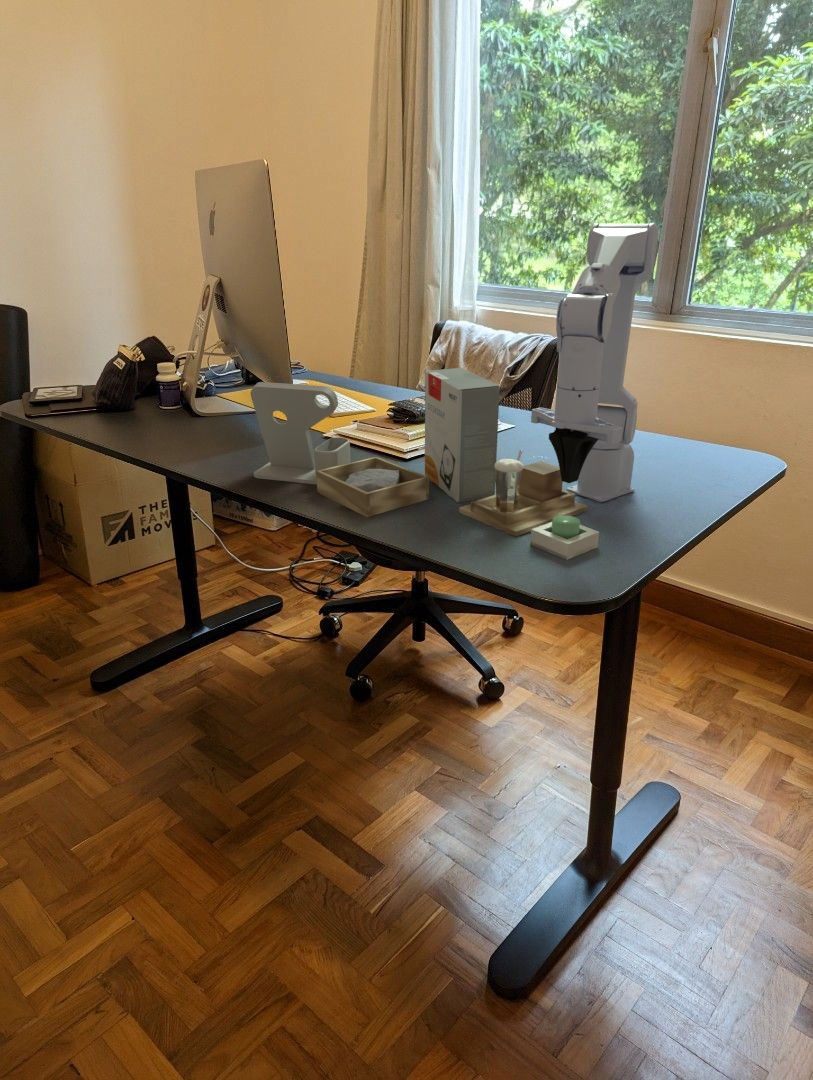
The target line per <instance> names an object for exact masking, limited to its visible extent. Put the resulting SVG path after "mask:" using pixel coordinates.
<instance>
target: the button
mask: <svg viewBox="0 0 813 1080" xmlns="http://www.w3.org/2000/svg"><path fill="white" fill-rule="evenodd" d="M580 525H581V520H580V519H579V518H578V517H576V516H556V517H554V518H553V519H552V531H551V533H553V534H555V535H557V536H560V537H562V538H565V539H569V538H572V537H575V536H577V535H579V528H580Z"/></svg>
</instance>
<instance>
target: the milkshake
mask: <svg viewBox="0 0 813 1080" xmlns="http://www.w3.org/2000/svg"><path fill="white" fill-rule="evenodd" d="M522 454H523V450H521V449H520V450H519V451H518V456H517V458H516V459H513V458H501V459H499V460H496V463H495V465H494V467H495V495H496V510H498V511H500V512H503V513H505V514H509V513H512V512H515V511H517V504H518V497H519V489H520V484H521V478H522V473H523V466H524V464H523V463H522V462H521V461H520V459H521V457H522Z"/></svg>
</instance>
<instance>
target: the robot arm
mask: <svg viewBox="0 0 813 1080" xmlns="http://www.w3.org/2000/svg"><path fill="white" fill-rule="evenodd" d="M658 236H659V229H658V225H656V223H655V222H650V223H600V222H595V223H594V224H593V225H592V226H591V227H590V229H589V232H588V237H587V243H586V259H587V262H588V264H589V265H588V266H587V267H586V268H584V269H583V270H582V272H581V274H580V276H579V277H578V279H577V281H576V284H575V286H574V288H573V290H572V292H571V293H569V294H567V295H566V296H565V297H566V298H564V297H562V298H561V299H560V300H559V303H558V307H557V311H556V319H555V321H556V324H555V327H556V328H555V329H556V341H557V342H556V352H557V353H558V354H559V355H558V365H557V366H558V368H557V379H556V380H557V381H556V390H555V392H556V393H555V402H554V403H555V405H554V406H555V407H554V409H551V408H544V407H537V408H532V409H531V416H530V418H531V419H530V422H531V423H533V424H542V425H545V426H550V427H553V428H555V429H554V432H549V434H548V440H549V441H550V443H551V446H552V447H553V450H554V452H555V455H556V458H557V462H558V467H560V473H561V479H562V481H563V483H566V484H571V483H574V482H577V484H574V485H572V486H568V487H566V491H568V492H571V493H574V494H575V495H578V496H582V497H584V498H587V499H591V500H593V501H597V502H600V503H604V502H608V501H610V500H613V499H615V498H618V497H621V496H624V495H627V494H629V493H633V492H634V491H635V487H632V477H633V469H634V462H635V453H634V450H633V447H632V445H631V443H632V442H633V441H634V436H635V433H636V428H637V420H638V411H637V410H638V402H637V398H636V397H635V396H634V395H633V394H632V393H631V392H630V391H629V390H628V389H627V388H626V387H624V381H625V380H624V379H625V373H626V366H627V359H628V352H629V351H628V350H629V342H630V335H631V328H632V322H633V321H632V320H633V311H634V305H635V298H636V295H637V292H638V289H639V287H640V284H642V283H645V282H647V281H650V280H651V279H652V275H653V273H654V268H655V261H656V254H657V248H658V241H659V237H658ZM601 404H605V405H601ZM613 405H614V406H613ZM615 405H616V406H615Z"/></svg>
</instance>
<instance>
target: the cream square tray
mask: <svg viewBox="0 0 813 1080" xmlns="http://www.w3.org/2000/svg"><path fill="white" fill-rule="evenodd" d="M551 531H552V522H550V523H547V524H545V525H542V526H539V527H536V528H534V529H531V531H530V545H531V546H533V547H534V548H537V549H539V550H543V551H545V552H547V553H549V554H552V555H554V556H556V557H558V558H560V559H563V560H565V561H568V560H570V559H573V558H575V557H578V556H581V555H582V554H585V553H588V552H590V551H593V550H594V549H598V548H599V538H600V531H597V530H595V529H593V528H590V527H587V526H584V525H582V524H580V528H579V535H577V536H575V537H572V538H569V539H565V538H562V537H560V536H557V535H555V534H553V533H551Z"/></svg>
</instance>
